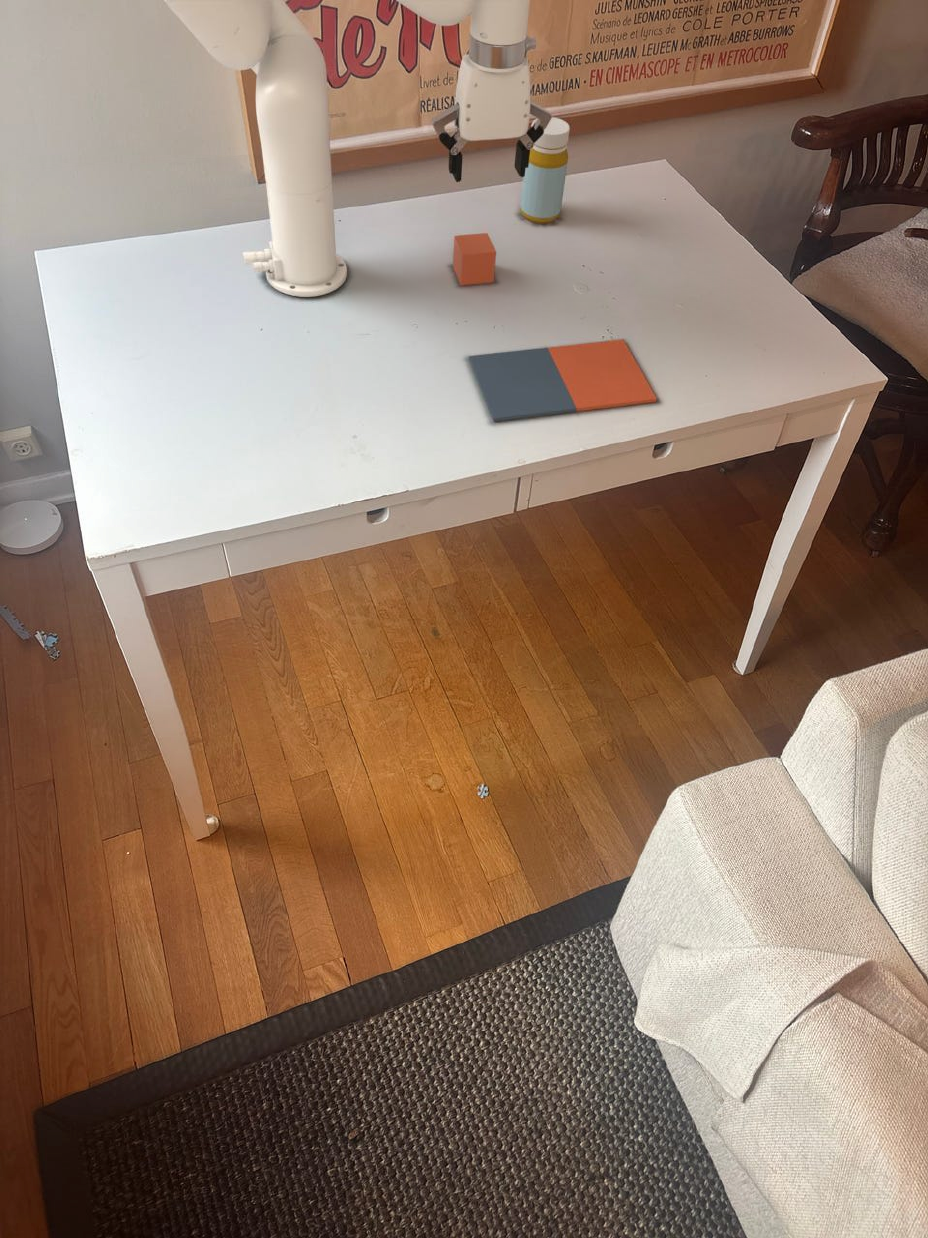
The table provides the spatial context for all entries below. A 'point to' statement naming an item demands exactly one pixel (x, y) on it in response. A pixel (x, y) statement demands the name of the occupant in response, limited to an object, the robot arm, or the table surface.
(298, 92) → the robot arm
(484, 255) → the block
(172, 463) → the table surface
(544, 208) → the bottle
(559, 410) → the sorting mat
